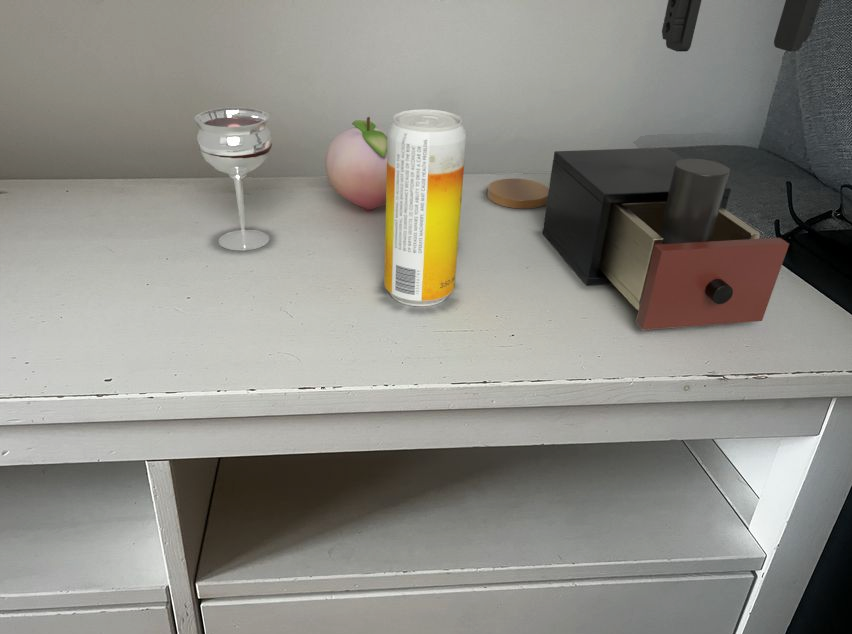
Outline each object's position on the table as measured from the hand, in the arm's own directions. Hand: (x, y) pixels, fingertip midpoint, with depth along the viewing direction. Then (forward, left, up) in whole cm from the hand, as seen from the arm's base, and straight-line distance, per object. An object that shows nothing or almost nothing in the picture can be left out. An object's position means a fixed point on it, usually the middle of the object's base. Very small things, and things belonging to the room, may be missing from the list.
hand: (732, 49), depth 51 cm
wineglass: (+36, -17, -21) cm, 45 cm away
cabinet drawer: (0, +1, -20) cm, 20 cm away
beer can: (+21, -4, -21) cm, 30 cm away
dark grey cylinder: (0, 0, -18) cm, 19 cm away
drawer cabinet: (0, -9, -20) cm, 23 cm away
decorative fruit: (+23, -23, -21) cm, 39 cm away
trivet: (+5, -25, -20) cm, 33 cm away
